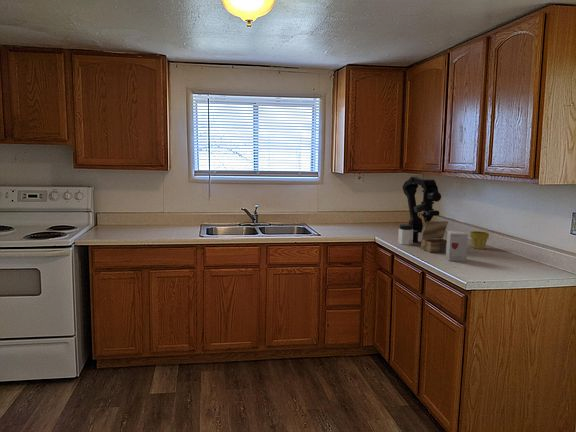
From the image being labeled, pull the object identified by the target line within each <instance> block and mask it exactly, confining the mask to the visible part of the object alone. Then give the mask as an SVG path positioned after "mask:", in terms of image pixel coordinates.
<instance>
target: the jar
mask: <svg viewBox="0 0 576 432" xmlns="http://www.w3.org/2000/svg"><path fill="white" fill-rule="evenodd" d="M397 236H398V237H397V244H399V245H403V246H404V245H405V246H406V245H407V246H410V245H413V244H414V242H413V225H410V224H409V223H402V224H401V223H400V224H399V228H398V235H397Z"/></svg>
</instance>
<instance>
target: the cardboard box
mask: <svg viewBox="0 0 576 432" xmlns="http://www.w3.org/2000/svg"><path fill="white" fill-rule="evenodd" d="M420 239H421V238H420ZM446 246H447V239H444V238H441V239H421V240H420V250H422V249H423V251H424V252H427V251H428V252H427V253H430V254H439V253H440V254H441V253H442V252H446ZM442 254H443V253H442Z"/></svg>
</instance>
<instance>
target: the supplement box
mask: <svg viewBox="0 0 576 432" xmlns="http://www.w3.org/2000/svg"><path fill="white" fill-rule="evenodd" d="M446 232H447V233H446V235H447V236H446V240H447V246H446V253H445V258H446V259H447V260H448V261H450V262H464V263H465V262H466V261H467V245H468V233H466V231H459V230H458V231H457V230H447V231H446Z"/></svg>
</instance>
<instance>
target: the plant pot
mask: <svg viewBox="0 0 576 432" xmlns="http://www.w3.org/2000/svg"><path fill="white" fill-rule="evenodd" d="M469 233H470V235H469V236H470V239H471V244H472V248H473V249H476V250H485V248H486V244H487V240H488V239H489V237H490V236H489V235H490V233H489V232H486V231H480V230H479V231H478V230H472V231H470V232H469Z"/></svg>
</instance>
